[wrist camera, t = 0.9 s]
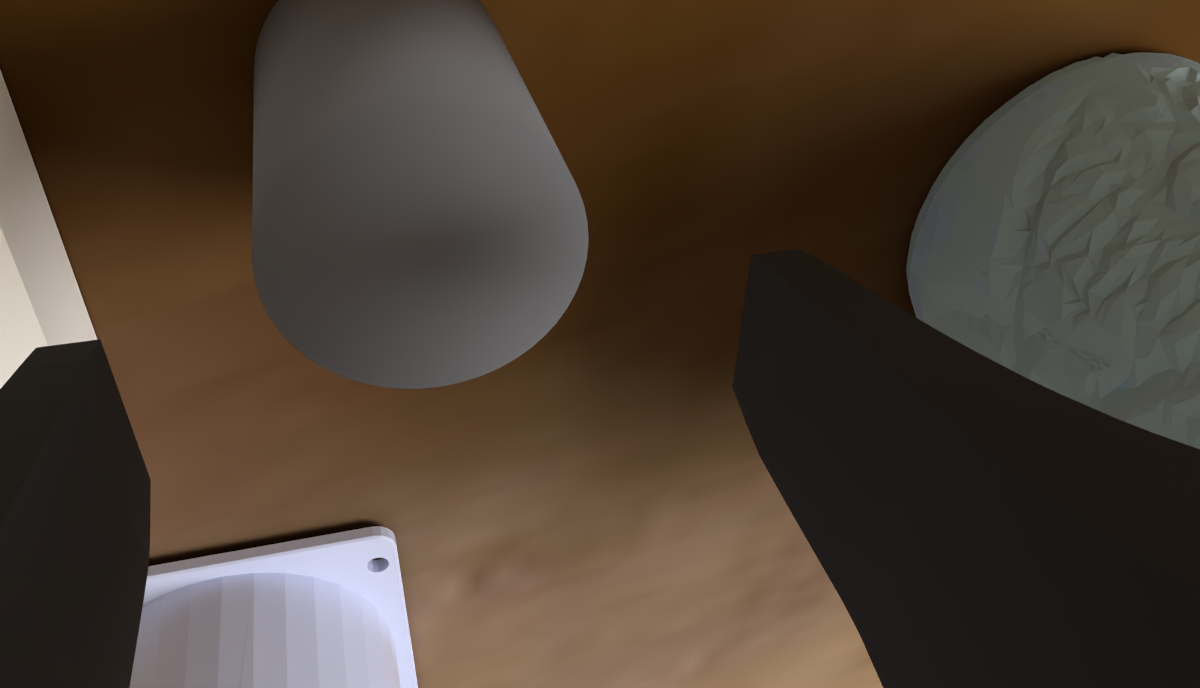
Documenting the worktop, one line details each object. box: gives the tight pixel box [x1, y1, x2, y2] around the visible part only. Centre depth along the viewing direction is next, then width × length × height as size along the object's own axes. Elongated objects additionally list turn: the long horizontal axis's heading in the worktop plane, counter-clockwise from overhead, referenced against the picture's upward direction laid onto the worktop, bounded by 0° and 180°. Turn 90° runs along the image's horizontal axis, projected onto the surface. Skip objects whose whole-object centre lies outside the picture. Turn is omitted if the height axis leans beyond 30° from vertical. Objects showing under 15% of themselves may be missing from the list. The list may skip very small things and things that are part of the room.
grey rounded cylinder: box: [252, 0, 589, 389], centre depth 15 cm, size 4×4×6 cm
